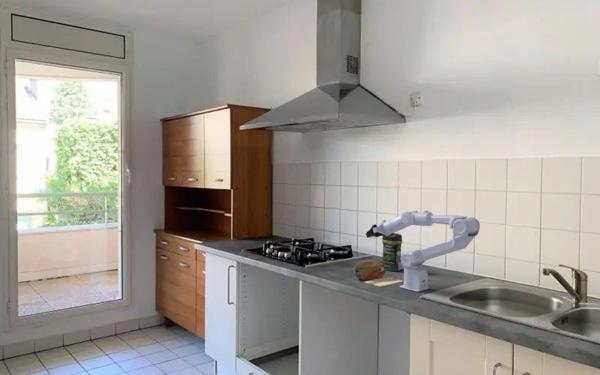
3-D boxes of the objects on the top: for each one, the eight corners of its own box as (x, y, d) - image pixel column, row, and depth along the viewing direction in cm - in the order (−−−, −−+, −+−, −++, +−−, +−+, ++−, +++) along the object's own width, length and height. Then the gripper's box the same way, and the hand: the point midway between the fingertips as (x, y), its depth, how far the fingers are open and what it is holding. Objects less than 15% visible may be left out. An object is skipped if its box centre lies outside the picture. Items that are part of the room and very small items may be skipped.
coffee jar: (379, 269, 219) (379, 232, 219) (388, 266, 225) (388, 231, 224) (395, 272, 212) (395, 234, 212) (404, 270, 218) (404, 233, 217)
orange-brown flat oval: (355, 280, 196) (355, 262, 196) (352, 278, 199) (353, 260, 199) (385, 278, 200) (385, 260, 200) (382, 276, 203) (382, 259, 203)
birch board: (403, 281, 194) (403, 280, 194) (381, 287, 185) (381, 286, 185) (386, 277, 202) (386, 276, 202) (364, 282, 192) (364, 281, 192)
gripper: (401, 216, 196) (380, 225, 206) (381, 217, 187) (359, 227, 196) (406, 230, 194) (384, 240, 204) (385, 233, 185) (363, 242, 194)
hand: (372, 234), depth 200 cm, fingers open, 7 cm apart
